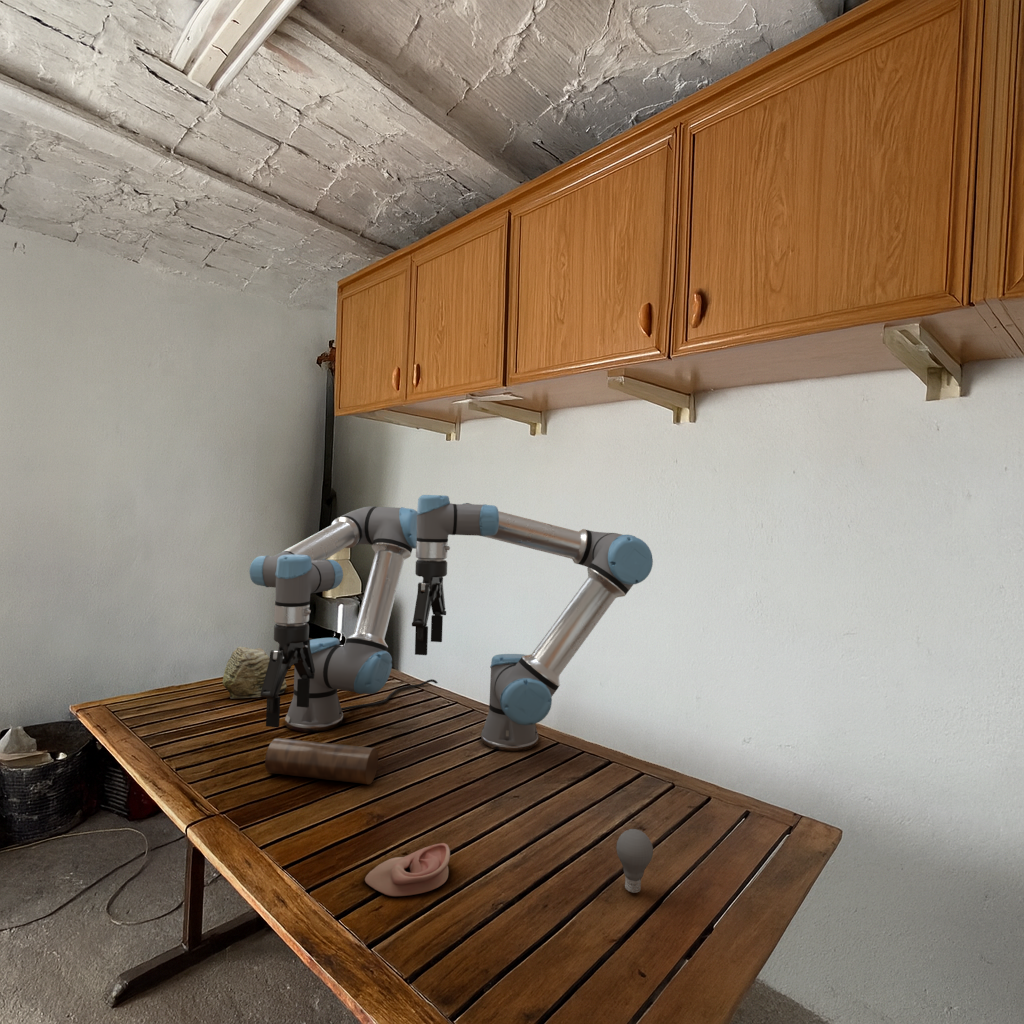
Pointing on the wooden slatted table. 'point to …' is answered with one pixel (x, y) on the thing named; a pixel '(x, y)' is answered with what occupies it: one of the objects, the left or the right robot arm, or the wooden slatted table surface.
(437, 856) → the anatomical model
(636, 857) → the light bulb
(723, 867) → the wooden slatted table surface
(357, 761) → the rod
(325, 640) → the left robot arm
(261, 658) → the fossil
